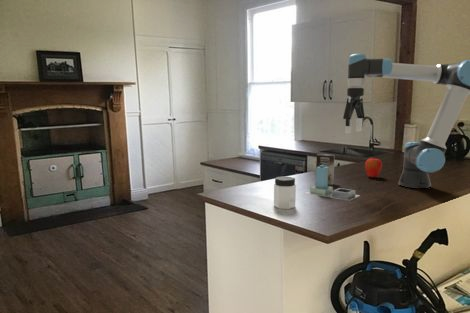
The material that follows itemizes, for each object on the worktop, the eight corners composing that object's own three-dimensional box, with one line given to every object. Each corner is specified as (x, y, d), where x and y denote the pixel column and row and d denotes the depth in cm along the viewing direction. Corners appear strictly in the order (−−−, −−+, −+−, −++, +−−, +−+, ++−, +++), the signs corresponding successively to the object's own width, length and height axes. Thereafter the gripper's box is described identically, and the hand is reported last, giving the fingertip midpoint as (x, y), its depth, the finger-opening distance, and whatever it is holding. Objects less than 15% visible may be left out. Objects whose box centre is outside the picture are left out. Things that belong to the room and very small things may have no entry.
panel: (360, 197, 175) (360, 190, 175) (350, 202, 166) (350, 194, 166) (316, 190, 189) (316, 183, 188) (304, 195, 180) (304, 187, 179)
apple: (361, 177, 222) (362, 156, 221) (369, 175, 228) (370, 155, 227) (376, 179, 216) (377, 158, 214) (384, 177, 222) (385, 157, 220)
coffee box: (314, 185, 201) (315, 154, 199) (316, 182, 207) (317, 153, 205) (332, 186, 198) (334, 155, 196) (333, 184, 204) (335, 154, 202)
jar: (282, 202, 166) (282, 175, 164) (298, 206, 161) (299, 177, 159) (270, 206, 159) (270, 178, 158) (286, 210, 154) (287, 181, 152)
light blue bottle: (327, 192, 181) (328, 165, 179) (323, 193, 178) (324, 166, 176) (319, 190, 184) (320, 164, 182) (315, 192, 180) (316, 165, 179)
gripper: (357, 88, 194) (355, 130, 197) (337, 87, 175) (335, 133, 178) (372, 88, 189) (370, 131, 193) (353, 86, 170) (350, 134, 173)
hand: (353, 132), depth 185 cm, fingers open, 13 cm apart
